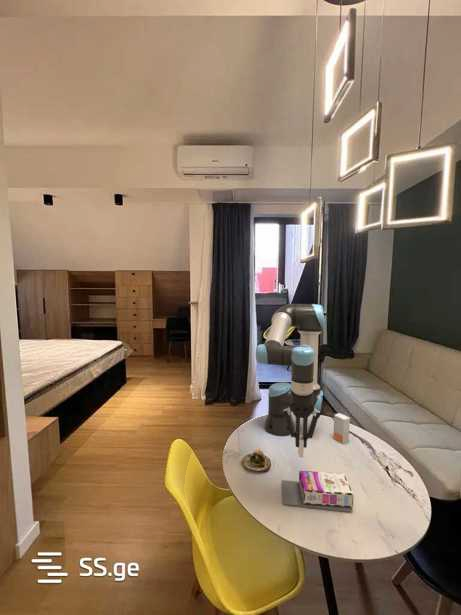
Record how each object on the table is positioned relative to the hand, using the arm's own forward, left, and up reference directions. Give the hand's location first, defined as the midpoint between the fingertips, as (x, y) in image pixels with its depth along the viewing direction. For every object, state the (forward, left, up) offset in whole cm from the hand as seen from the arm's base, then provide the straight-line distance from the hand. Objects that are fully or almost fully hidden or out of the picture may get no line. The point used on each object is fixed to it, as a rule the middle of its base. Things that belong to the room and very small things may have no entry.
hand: (300, 455), depth 105 cm
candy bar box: (+2, 0, -11) cm, 11 cm away
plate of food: (-13, -16, -14) cm, 25 cm away
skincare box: (-38, +23, -14) cm, 46 cm away
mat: (+2, +5, -14) cm, 14 cm away
